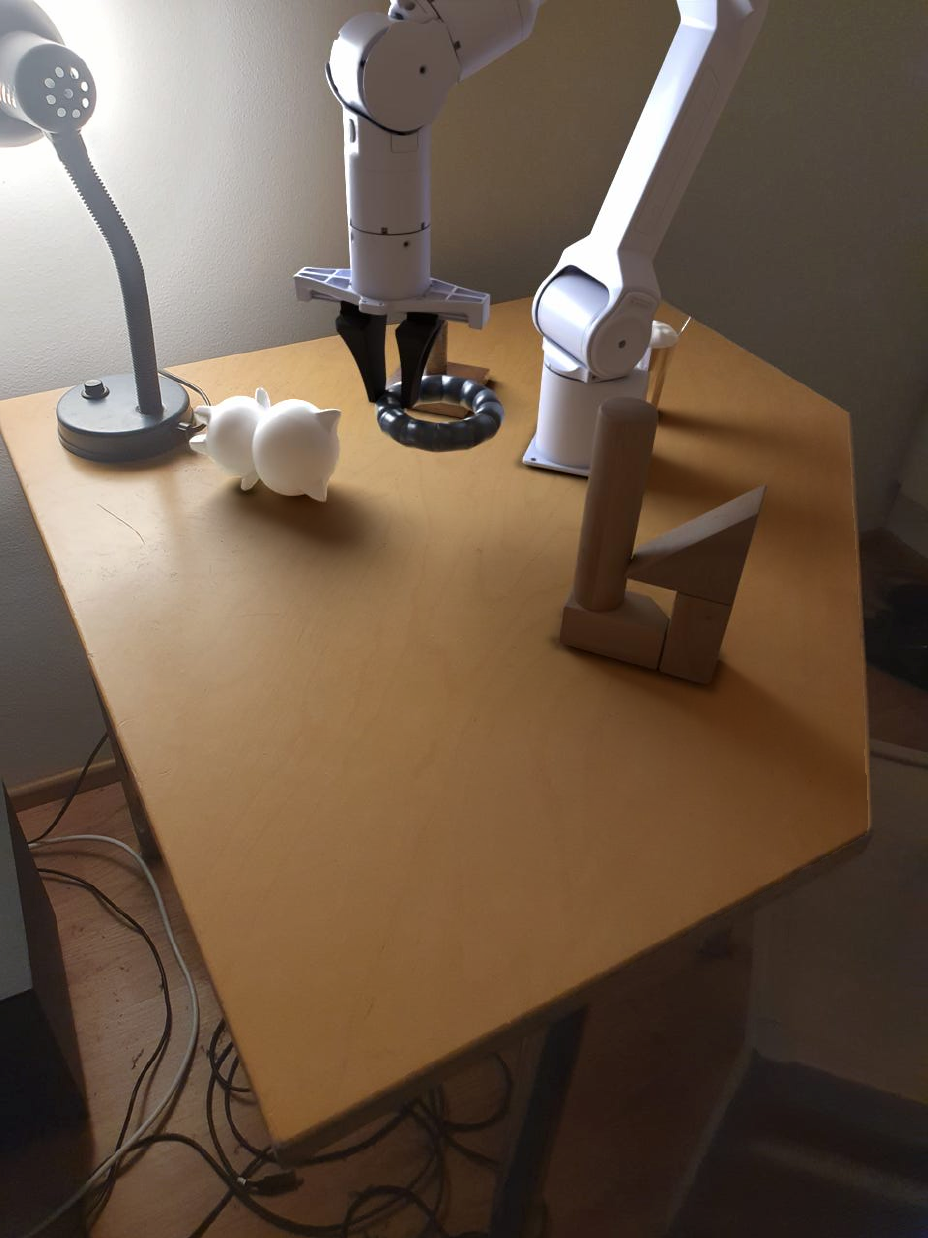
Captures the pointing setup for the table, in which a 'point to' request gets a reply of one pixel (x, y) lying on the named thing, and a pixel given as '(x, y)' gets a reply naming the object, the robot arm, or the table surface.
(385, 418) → the ring
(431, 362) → the stand
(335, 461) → the cat figurine
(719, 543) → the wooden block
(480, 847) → the table surface
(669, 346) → the milkshake
